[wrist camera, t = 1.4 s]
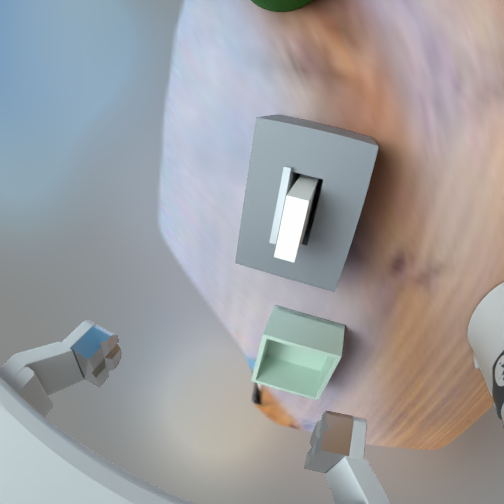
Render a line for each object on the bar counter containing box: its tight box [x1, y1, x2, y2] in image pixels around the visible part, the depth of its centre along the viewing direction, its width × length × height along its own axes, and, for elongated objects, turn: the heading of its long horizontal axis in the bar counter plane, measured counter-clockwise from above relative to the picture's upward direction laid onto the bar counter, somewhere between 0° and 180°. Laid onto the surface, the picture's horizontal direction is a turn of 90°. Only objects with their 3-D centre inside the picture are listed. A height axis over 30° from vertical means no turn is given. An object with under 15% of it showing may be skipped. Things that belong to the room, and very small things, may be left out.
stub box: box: [251, 305, 345, 400], centre depth 40 cm, size 10×10×6 cm
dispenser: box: [235, 115, 379, 292], centre depth 29 cm, size 10×14×9 cm
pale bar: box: [274, 174, 320, 263], centre depth 27 cm, size 2×5×11 cm, turn 171°
